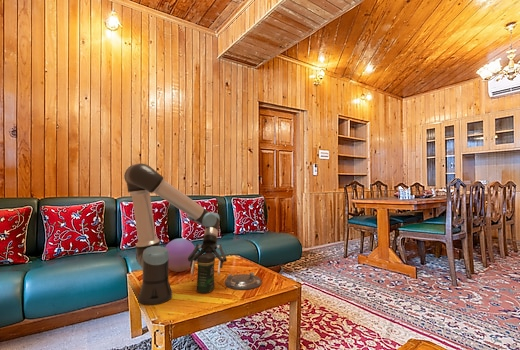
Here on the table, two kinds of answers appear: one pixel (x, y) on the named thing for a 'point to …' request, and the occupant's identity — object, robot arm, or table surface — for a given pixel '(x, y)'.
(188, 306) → the table surface
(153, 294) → the robot arm
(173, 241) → the ball
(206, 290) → the coffee jar
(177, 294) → the table surface
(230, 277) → the lug base plate
